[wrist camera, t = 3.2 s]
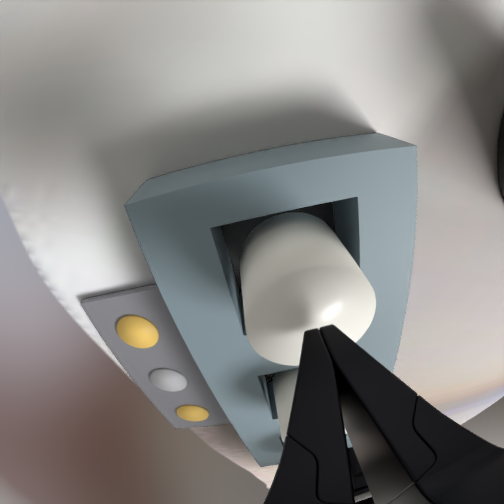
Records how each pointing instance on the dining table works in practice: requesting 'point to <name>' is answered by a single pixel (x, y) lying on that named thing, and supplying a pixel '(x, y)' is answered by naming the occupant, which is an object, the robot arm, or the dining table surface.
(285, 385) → the button mid
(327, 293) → the button
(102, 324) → the card
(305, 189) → the button board
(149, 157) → the dining table surface
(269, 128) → the dining table surface
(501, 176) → the mug
